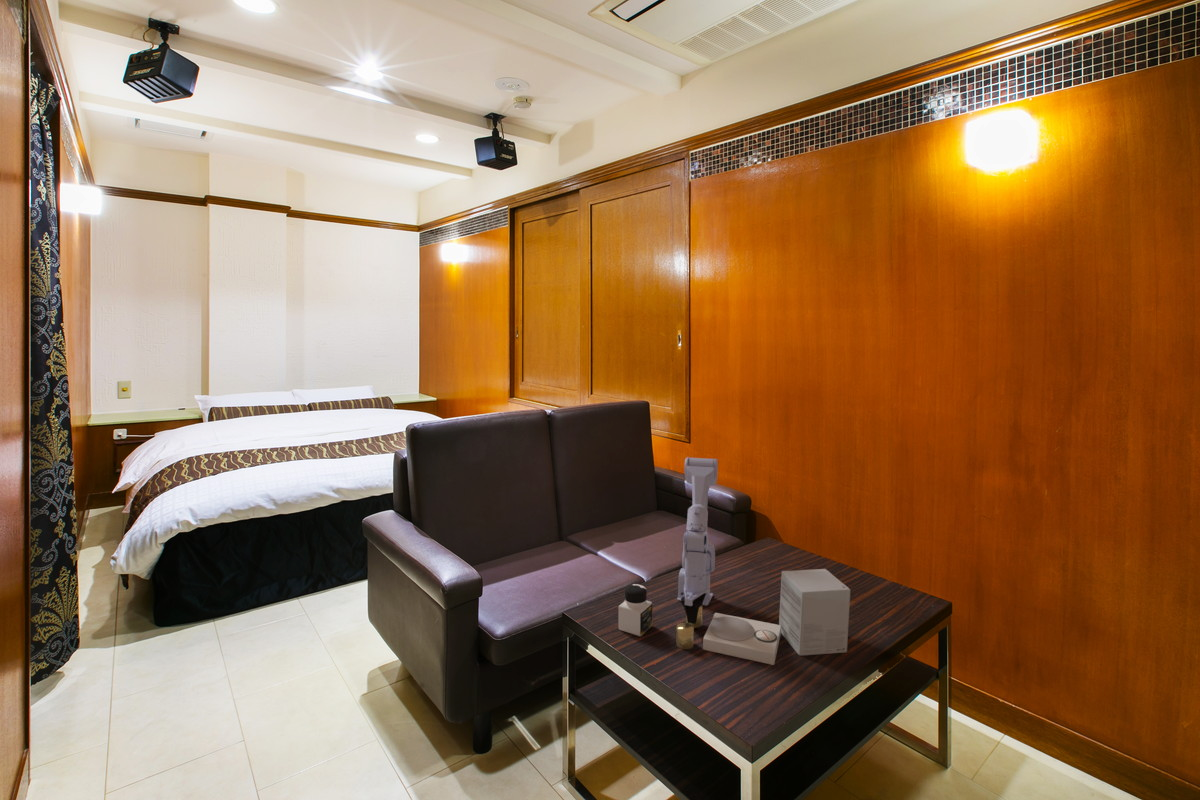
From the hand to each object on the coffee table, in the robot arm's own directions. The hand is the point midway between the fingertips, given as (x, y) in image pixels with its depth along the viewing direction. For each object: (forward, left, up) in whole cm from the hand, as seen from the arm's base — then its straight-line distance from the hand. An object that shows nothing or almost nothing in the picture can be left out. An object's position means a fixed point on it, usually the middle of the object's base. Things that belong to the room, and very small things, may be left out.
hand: (694, 618), depth 165 cm
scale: (+14, -3, -2) cm, 15 cm away
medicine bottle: (-15, -7, -3) cm, 17 cm away
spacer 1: (0, -10, -2) cm, 10 cm away
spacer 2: (0, 0, -2) cm, 2 cm away
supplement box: (+31, +5, -3) cm, 31 cm away
